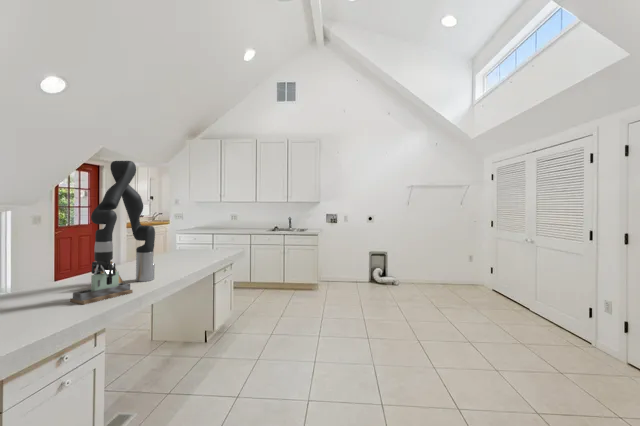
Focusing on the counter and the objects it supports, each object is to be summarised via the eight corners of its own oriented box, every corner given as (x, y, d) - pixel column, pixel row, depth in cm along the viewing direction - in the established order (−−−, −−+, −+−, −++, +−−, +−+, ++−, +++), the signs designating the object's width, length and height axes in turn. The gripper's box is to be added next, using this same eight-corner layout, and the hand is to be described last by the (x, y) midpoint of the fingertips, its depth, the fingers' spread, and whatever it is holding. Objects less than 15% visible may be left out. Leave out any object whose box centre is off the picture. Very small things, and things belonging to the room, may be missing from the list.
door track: (119, 290, 176) (119, 282, 176) (132, 292, 172) (132, 284, 172) (70, 301, 154) (70, 292, 154) (84, 304, 150) (84, 294, 150)
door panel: (115, 290, 170) (115, 271, 170) (118, 291, 169) (119, 271, 169) (91, 296, 159) (91, 275, 159) (94, 296, 158) (95, 275, 158)
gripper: (120, 250, 164) (120, 283, 164) (101, 248, 169) (101, 280, 170) (105, 252, 157) (105, 286, 157) (86, 250, 162) (86, 283, 163)
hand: (103, 283), depth 163 cm, fingers open, 8 cm apart
